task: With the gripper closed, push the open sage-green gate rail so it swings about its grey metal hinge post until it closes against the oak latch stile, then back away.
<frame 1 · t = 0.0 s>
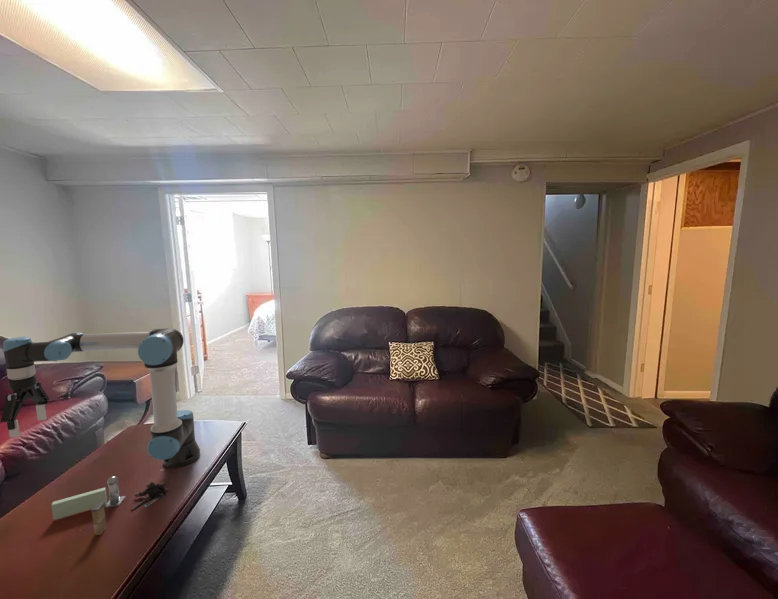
hand: (29, 427, 137), 28 cm above the table, fingers open, 13 cm apart
gate: (80, 503, 129), point 4 cm above the table, hinge at -70.0°
stuffed animal: (150, 497, 138), on the table
hinge post: (115, 502, 135), on the table
latch stile: (100, 531, 121), on the table
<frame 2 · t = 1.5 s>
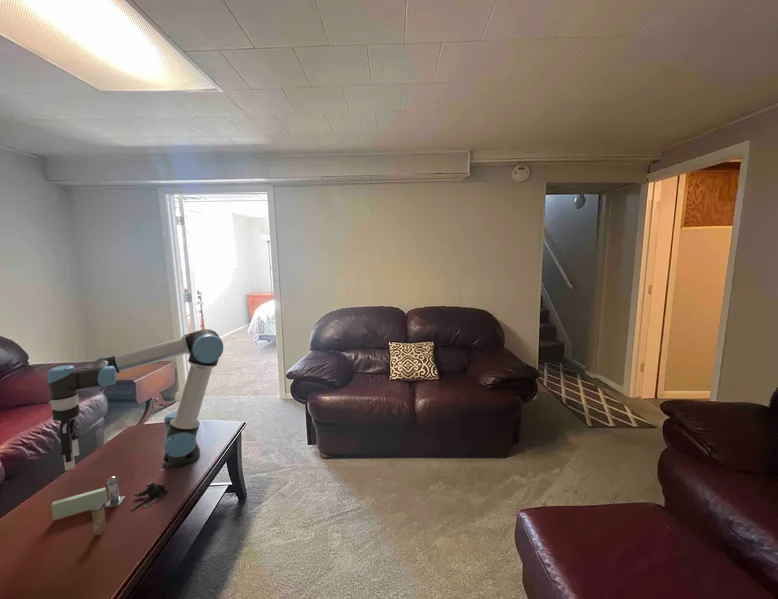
hand: (72, 462, 132), 18 cm above the table, fingers open, 9 cm apart
nothing on the table moved.
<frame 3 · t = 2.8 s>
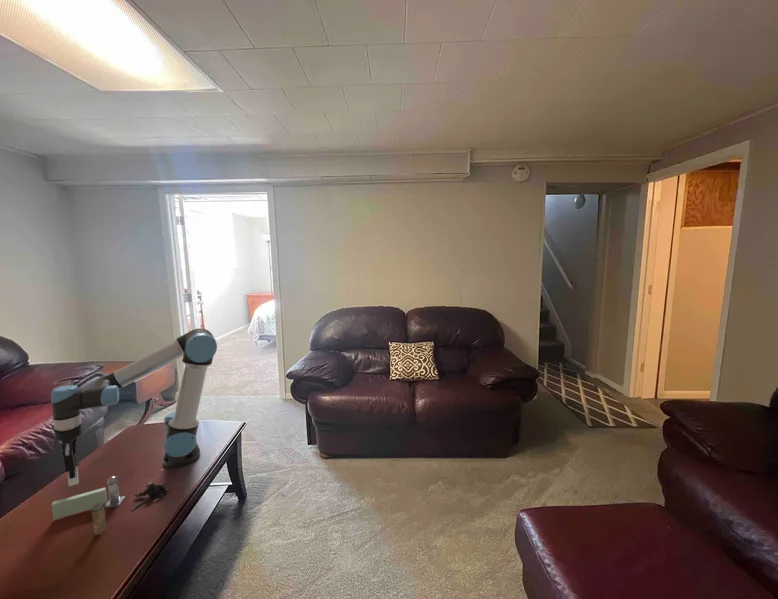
hand: (73, 483, 133), 9 cm above the table, fingers closed
nothing on the table moved.
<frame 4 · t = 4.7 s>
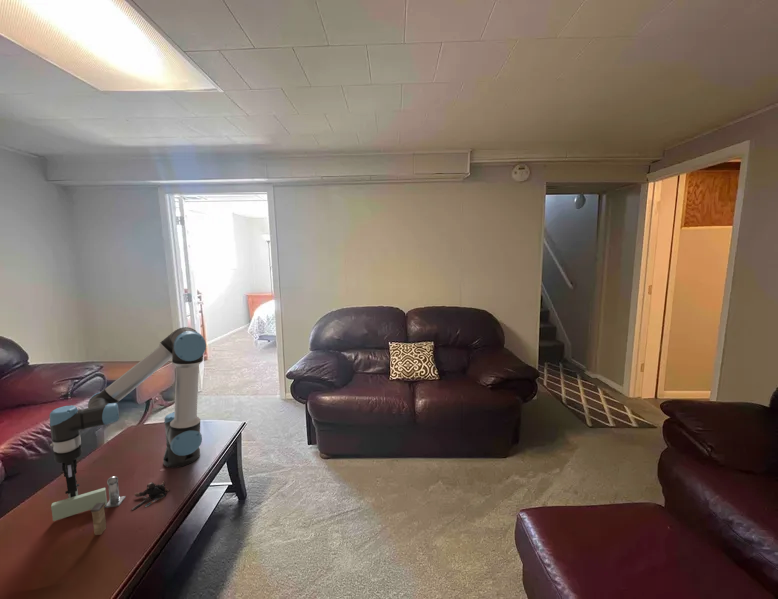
hand: (74, 505, 130), 2 cm above the table, fingers closed
gate: (80, 503, 129), point 4 cm above the table, hinge at -67.7°, touching gripper
everything else where it was.
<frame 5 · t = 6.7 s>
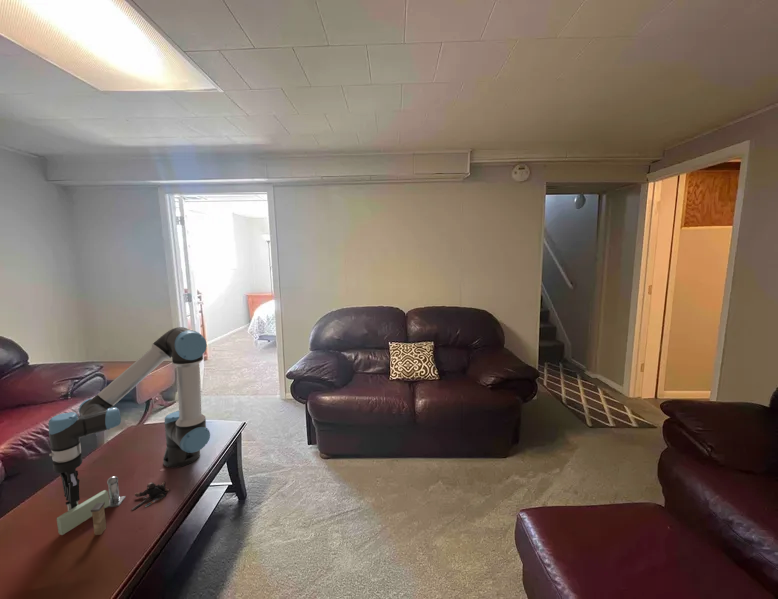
hand: (74, 516, 125), 2 cm above the table, fingers closed
gate: (84, 511, 125), point 4 cm above the table, hinge at -31.5°, touching gripper
everything else where it was.
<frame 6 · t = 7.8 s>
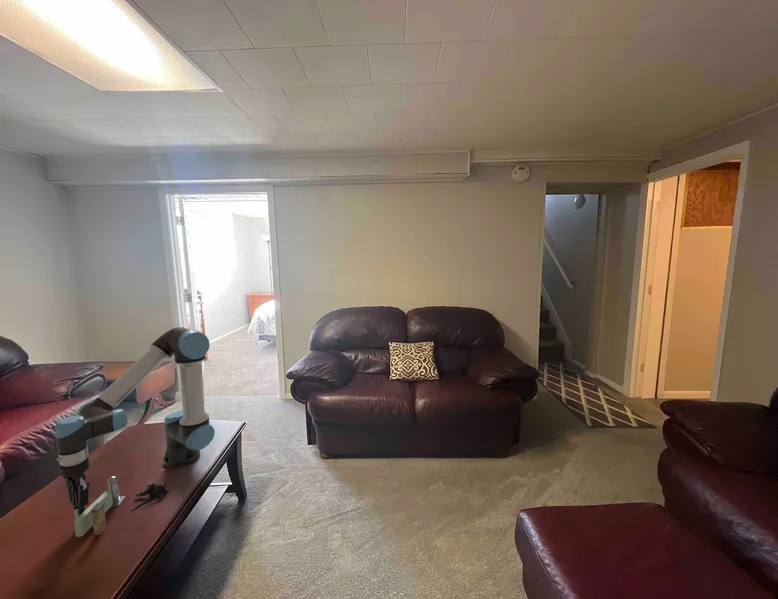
hand: (81, 521, 123), 2 cm above the table, fingers closed
gate: (94, 512, 124), point 4 cm above the table, hinge at -7.4°, touching gripper
everything else where it was.
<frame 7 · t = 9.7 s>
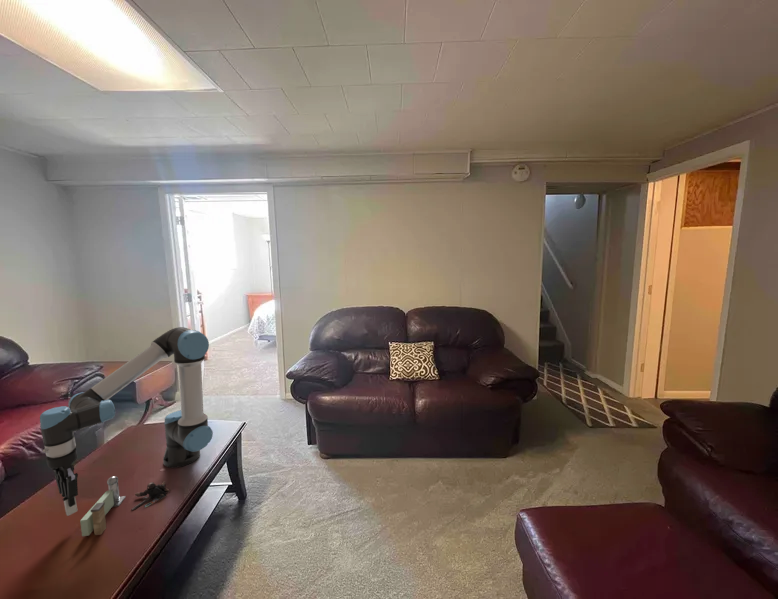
hand: (71, 512, 122), 6 cm above the table, fingers closed
gate: (98, 512, 125), point 4 cm above the table, hinge at -1.0°
everything else where it was.
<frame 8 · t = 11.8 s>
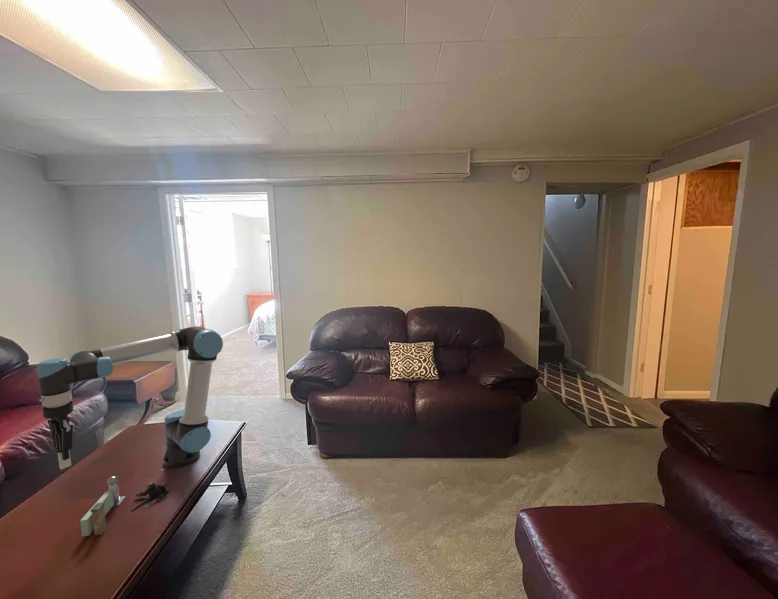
hand: (65, 466, 121), 22 cm above the table, fingers closed
nothing on the table moved.
at the end: gate at -1° (first picture: -70°) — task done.
